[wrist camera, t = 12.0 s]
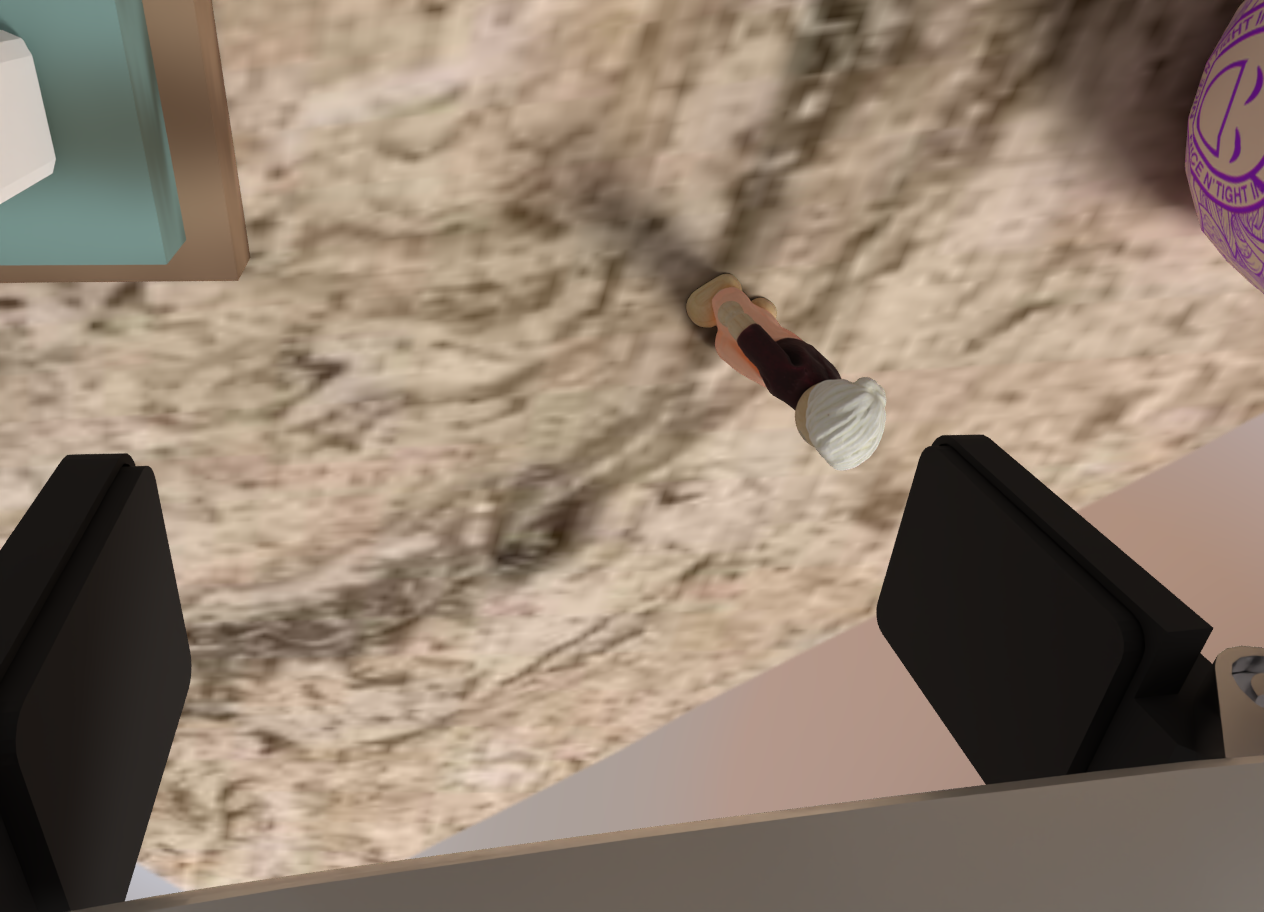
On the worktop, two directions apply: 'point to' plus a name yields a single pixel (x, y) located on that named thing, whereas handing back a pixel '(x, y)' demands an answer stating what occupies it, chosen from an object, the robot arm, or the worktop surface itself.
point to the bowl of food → (1232, 144)
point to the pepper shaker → (21, 121)
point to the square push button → (126, 147)
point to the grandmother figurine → (792, 373)
